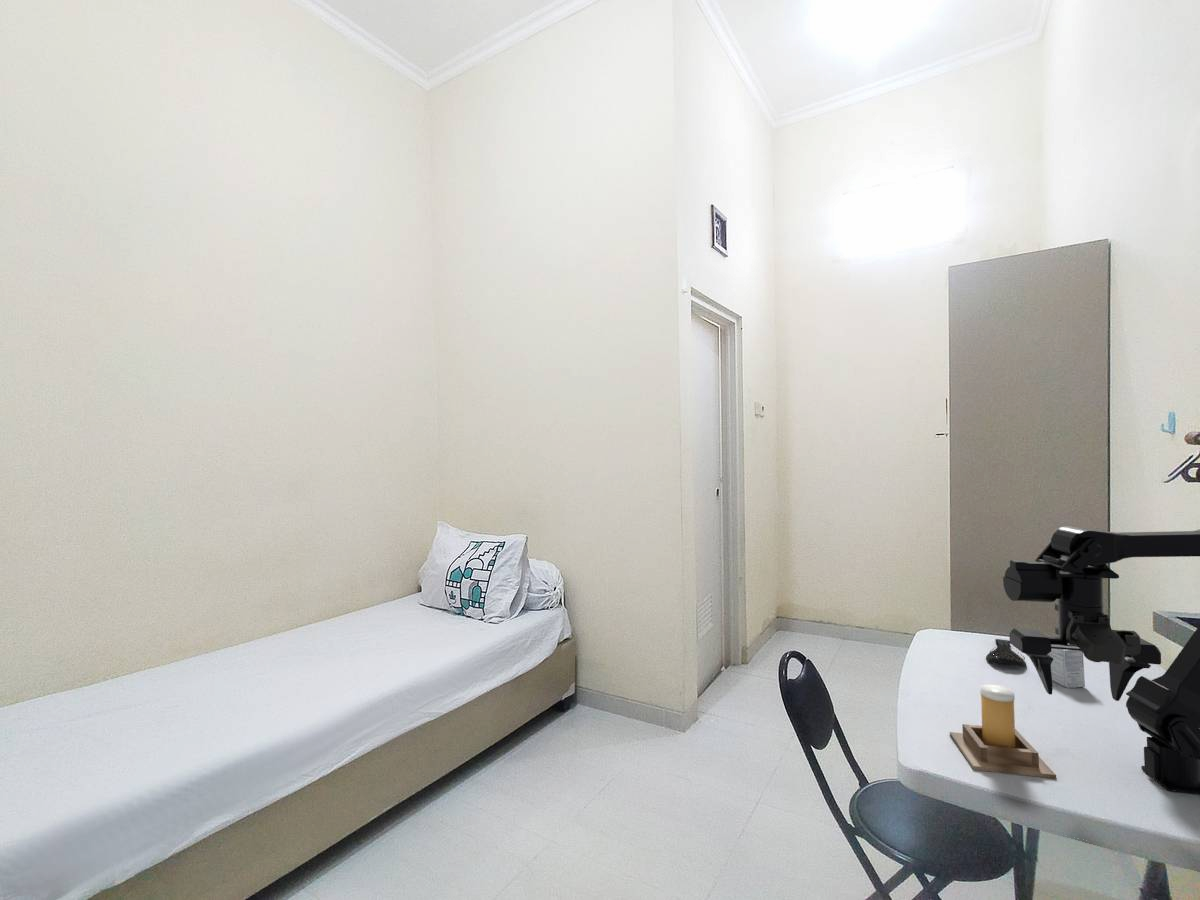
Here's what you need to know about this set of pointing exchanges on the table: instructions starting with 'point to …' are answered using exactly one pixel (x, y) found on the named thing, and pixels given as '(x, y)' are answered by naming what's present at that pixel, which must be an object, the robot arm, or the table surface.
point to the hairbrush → (1005, 654)
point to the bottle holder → (1000, 754)
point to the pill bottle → (997, 716)
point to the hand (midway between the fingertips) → (1082, 696)
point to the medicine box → (1067, 667)
